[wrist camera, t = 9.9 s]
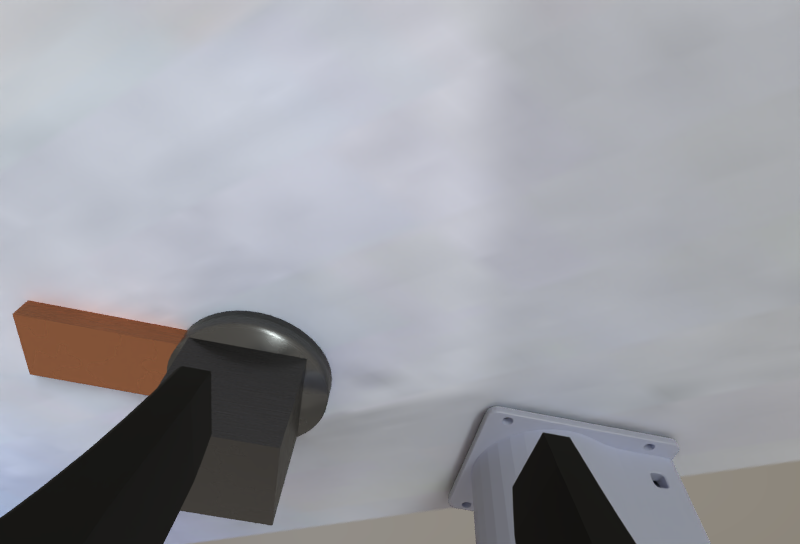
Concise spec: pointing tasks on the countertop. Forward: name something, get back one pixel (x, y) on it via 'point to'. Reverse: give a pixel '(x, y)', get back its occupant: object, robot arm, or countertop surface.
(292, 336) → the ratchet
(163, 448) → the robot arm
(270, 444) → the dark grey cube
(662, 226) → the countertop surface
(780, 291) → the countertop surface
